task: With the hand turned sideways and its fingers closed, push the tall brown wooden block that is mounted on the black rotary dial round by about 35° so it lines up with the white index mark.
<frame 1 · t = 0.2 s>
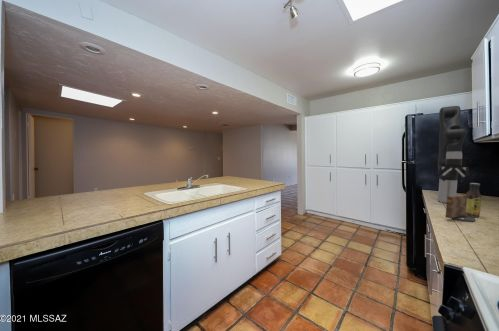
hand: (452, 181, 128), 18 cm above the countertop, tool pointing down, fingers open, 8 cm apart
brown wooden block: (456, 206, 107), point 8 cm above the countertop, hinge at -35.0°
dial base: (460, 218, 109), on the countertop
sauce bottle: (471, 216, 113), on the countertop
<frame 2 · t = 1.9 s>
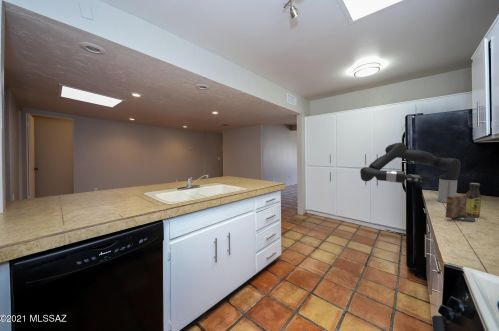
hand: (429, 179, 111), 23 cm above the countertop, tool horizontal, fingers open, 8 cm apart
nothing on the countertop moved.
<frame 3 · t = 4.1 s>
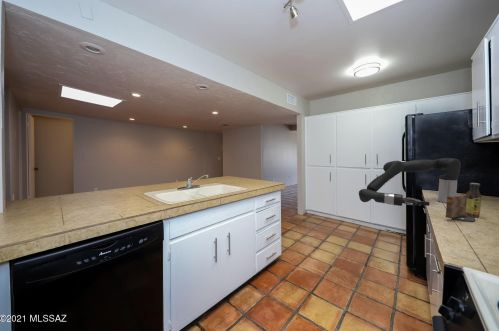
hand: (429, 203, 113), 8 cm above the countertop, tool horizontal, fingers closed
nothing on the countertop moved.
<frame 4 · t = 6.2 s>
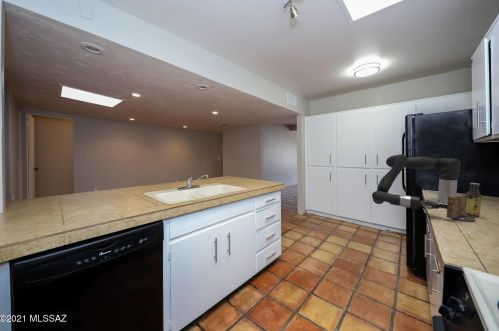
hand: (449, 207, 107), 7 cm above the countertop, tool horizontal, fingers closed
brown wooden block: (456, 206, 107), point 8 cm above the countertop, hinge at -32.6°, touching gripper
everything else where it was.
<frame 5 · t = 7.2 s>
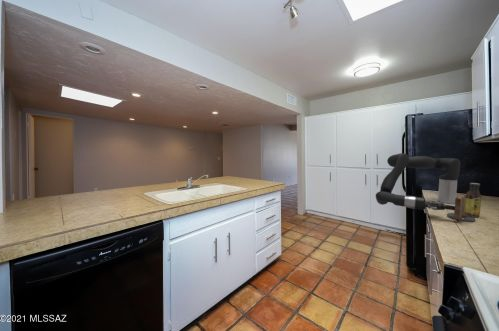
hand: (455, 208, 104), 7 cm above the countertop, tool horizontal, fingers closed
brown wooden block: (459, 206, 106), point 8 cm above the countertop, hinge at -16.9°, touching gripper
everything else where it was.
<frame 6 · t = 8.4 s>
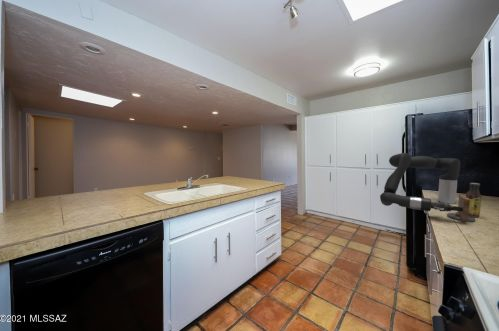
hand: (462, 209, 102), 7 cm above the countertop, tool horizontal, fingers closed
brown wooden block: (463, 207, 105), point 8 cm above the countertop, hinge at -0.5°, touching gripper
everything else where it was.
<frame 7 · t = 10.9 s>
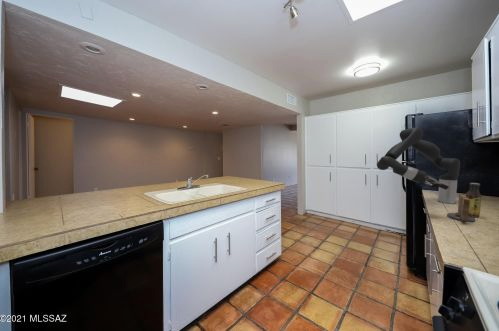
hand: (447, 187, 109), 18 cm above the countertop, tool tilted 65°, fingers closed
brown wooden block: (463, 207, 105), point 8 cm above the countertop, hinge at -0.4°
everything else where it was.
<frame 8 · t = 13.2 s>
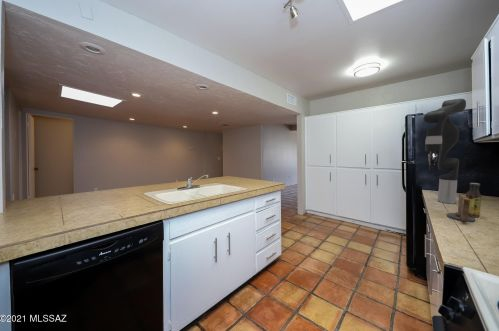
hand: (431, 170, 119), 27 cm above the countertop, tool pointing down, fingers closed
nothing on the countertop moved.
at the end: brown wooden block at +0° (first picture: -35°); sauce bottle moved 0.2 cm from its start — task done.
